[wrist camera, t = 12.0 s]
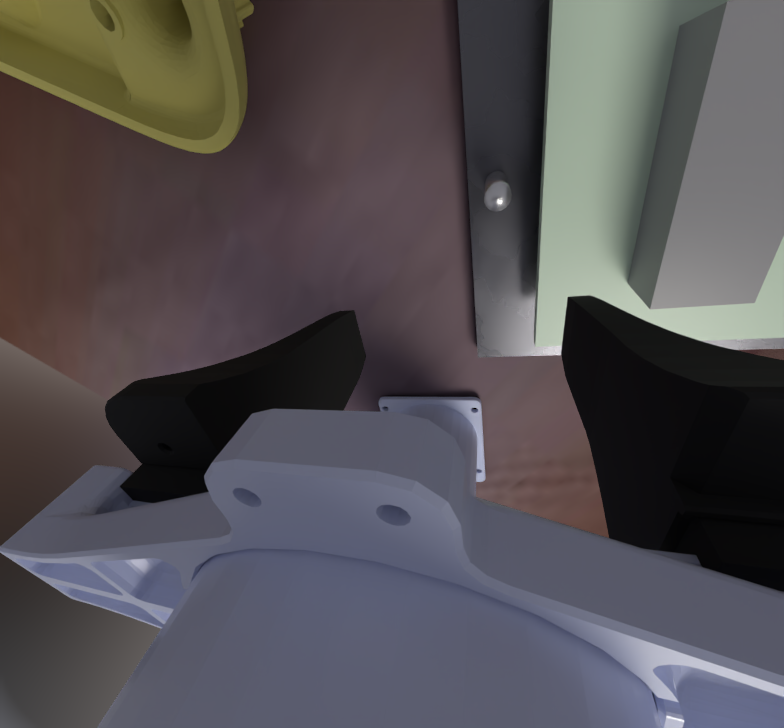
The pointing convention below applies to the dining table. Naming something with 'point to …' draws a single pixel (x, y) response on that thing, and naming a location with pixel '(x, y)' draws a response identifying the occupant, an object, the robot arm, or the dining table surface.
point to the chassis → (511, 169)
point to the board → (614, 168)
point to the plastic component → (137, 62)
